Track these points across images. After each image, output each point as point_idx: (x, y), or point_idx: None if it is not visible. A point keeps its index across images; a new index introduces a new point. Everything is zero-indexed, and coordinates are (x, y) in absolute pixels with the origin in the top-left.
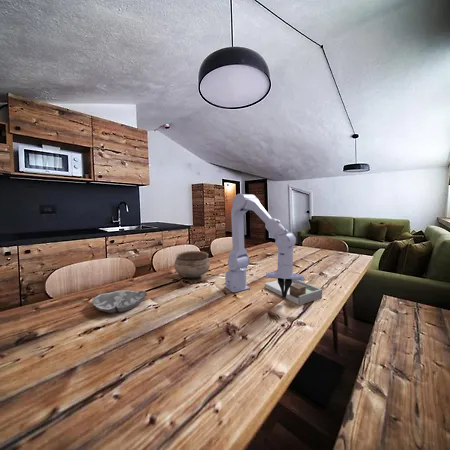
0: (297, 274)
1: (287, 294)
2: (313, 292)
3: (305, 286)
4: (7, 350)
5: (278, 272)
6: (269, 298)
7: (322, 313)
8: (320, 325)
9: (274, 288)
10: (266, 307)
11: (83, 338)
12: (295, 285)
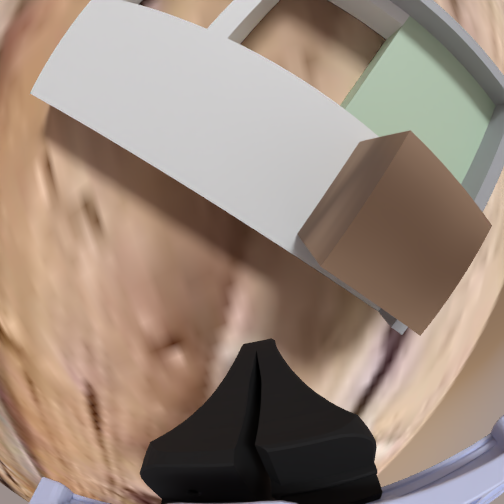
0: (495, 485)
1: (276, 242)
2: (493, 186)
3: (488, 227)
4: (16, 493)
5: None
6: (137, 290)
7: (465, 331)
8: (425, 420)
9: (118, 143)
10: (175, 406)
11: (26, 491)
12: (395, 245)
